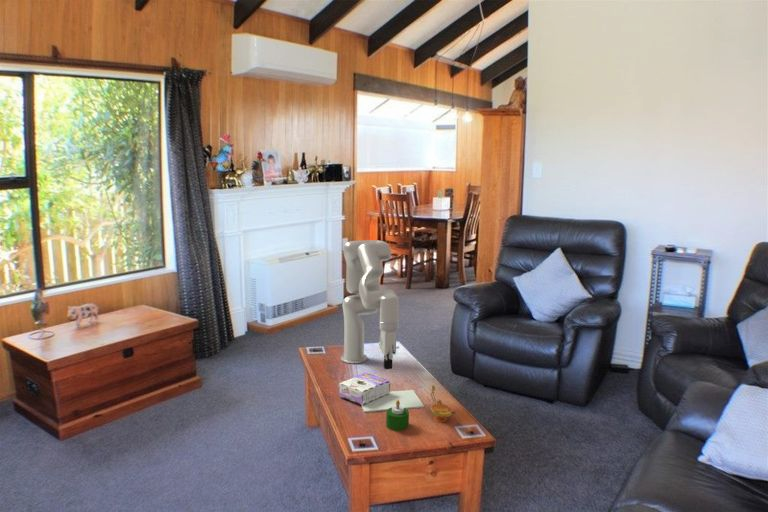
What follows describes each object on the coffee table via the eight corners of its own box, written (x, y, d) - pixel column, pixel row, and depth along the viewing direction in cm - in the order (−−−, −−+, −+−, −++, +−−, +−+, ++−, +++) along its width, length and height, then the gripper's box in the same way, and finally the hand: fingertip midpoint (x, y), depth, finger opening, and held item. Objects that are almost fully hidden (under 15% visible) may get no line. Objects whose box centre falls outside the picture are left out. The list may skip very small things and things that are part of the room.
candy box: (366, 385, 251) (338, 396, 239) (366, 372, 250) (338, 382, 238) (390, 394, 242) (362, 406, 230) (390, 380, 241) (362, 391, 229)
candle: (391, 432, 210) (392, 406, 208) (382, 422, 217) (383, 397, 216) (412, 428, 213) (413, 402, 211) (402, 419, 221) (403, 394, 219)
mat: (356, 395, 241) (356, 394, 241) (413, 391, 246) (413, 389, 246) (364, 412, 226) (364, 410, 226) (423, 407, 231) (423, 405, 231)
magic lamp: (446, 432, 210) (447, 404, 208) (423, 412, 226) (423, 385, 225) (462, 429, 213) (464, 401, 211) (438, 409, 229) (439, 382, 227)
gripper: (375, 320, 240) (375, 362, 244) (383, 331, 226) (382, 376, 229) (393, 319, 242) (392, 361, 245) (402, 330, 228) (401, 374, 231)
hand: (387, 368), depth 237 cm, fingers closed
